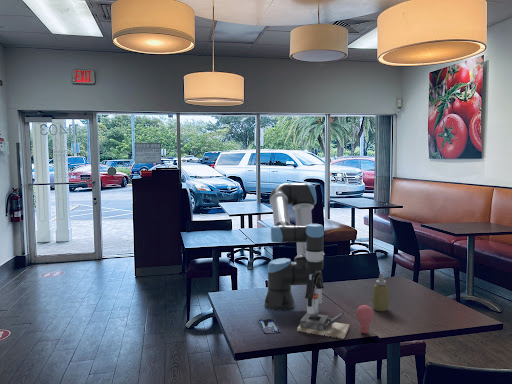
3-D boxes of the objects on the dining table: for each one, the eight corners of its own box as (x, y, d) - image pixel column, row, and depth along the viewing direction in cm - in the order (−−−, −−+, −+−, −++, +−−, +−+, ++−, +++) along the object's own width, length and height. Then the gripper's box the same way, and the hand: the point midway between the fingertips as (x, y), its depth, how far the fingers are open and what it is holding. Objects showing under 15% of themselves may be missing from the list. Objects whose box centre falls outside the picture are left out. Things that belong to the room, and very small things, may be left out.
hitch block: (297, 331, 177) (297, 321, 177) (305, 321, 188) (305, 311, 188) (343, 338, 169) (344, 328, 169) (349, 327, 180) (349, 317, 180)
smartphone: (264, 333, 174) (257, 319, 189) (264, 335, 174) (257, 321, 189) (281, 332, 175) (273, 318, 190) (281, 334, 176) (273, 320, 190)
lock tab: (326, 328, 175) (324, 325, 176) (329, 324, 180) (327, 321, 180) (342, 318, 172) (340, 315, 173) (344, 313, 177) (342, 311, 177)
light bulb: (370, 329, 178) (370, 302, 177) (375, 336, 171) (376, 308, 170) (354, 329, 178) (354, 302, 177) (358, 336, 171) (359, 308, 170)
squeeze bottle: (390, 313, 197) (390, 276, 196) (372, 311, 199) (373, 275, 197) (388, 307, 205) (388, 271, 204) (371, 306, 207) (371, 270, 205)
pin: (310, 325, 179) (310, 295, 178) (311, 322, 182) (312, 292, 181) (317, 326, 178) (317, 295, 177) (319, 323, 181) (319, 293, 180)
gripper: (315, 267, 165) (315, 319, 167) (329, 254, 188) (329, 300, 189) (297, 266, 168) (297, 316, 170) (313, 253, 191) (313, 298, 192)
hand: (314, 308), depth 179 cm, fingers open, 13 cm apart
